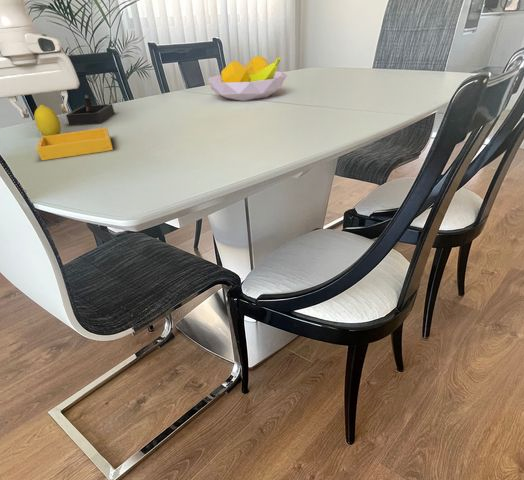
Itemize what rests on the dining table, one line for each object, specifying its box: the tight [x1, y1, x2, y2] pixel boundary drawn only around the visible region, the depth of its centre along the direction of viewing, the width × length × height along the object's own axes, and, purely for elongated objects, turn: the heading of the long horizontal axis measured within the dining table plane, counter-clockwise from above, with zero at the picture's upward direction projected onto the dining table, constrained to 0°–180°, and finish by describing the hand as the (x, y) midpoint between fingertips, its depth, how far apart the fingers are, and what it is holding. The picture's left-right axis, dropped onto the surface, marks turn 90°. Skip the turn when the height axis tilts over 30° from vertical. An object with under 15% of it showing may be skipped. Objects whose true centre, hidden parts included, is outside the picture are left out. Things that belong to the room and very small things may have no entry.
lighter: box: [84, 94, 94, 113], centre depth 116 cm, size 8×2×5 cm
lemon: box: [33, 104, 62, 136], centre depth 97 cm, size 6×6×8 cm
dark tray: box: [65, 103, 116, 126], centre depth 117 cm, size 14×10×3 cm
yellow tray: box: [36, 127, 114, 161], centre depth 91 cm, size 16×12×3 cm
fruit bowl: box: [208, 55, 288, 102], centre depth 128 cm, size 28×27×11 cm
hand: (46, 115), depth 96 cm, fingers open, 8 cm apart
